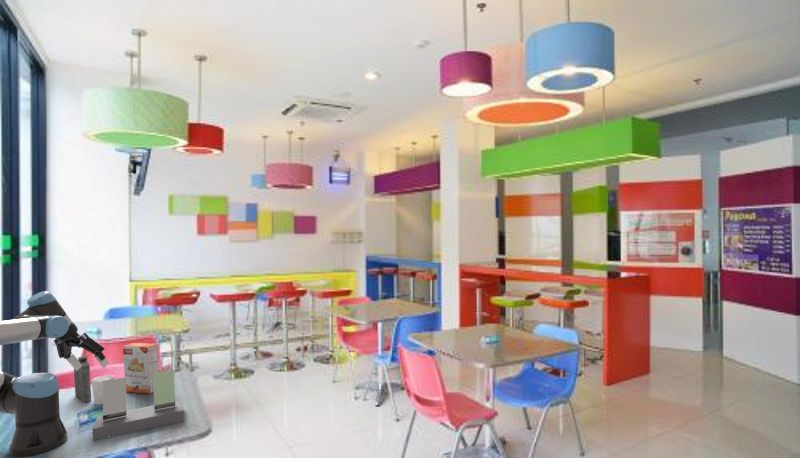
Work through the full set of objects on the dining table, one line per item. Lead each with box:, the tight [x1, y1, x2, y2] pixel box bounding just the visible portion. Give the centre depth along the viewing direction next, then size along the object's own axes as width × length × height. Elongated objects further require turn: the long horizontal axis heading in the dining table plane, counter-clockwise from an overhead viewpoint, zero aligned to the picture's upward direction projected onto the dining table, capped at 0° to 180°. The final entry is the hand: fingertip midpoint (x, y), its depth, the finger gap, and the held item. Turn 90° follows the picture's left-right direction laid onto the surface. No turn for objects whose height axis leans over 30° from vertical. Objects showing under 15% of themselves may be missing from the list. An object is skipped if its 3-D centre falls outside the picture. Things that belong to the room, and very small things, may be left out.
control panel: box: [91, 399, 185, 441], centre depth 165 cm, size 12×28×4 cm, turn 117°
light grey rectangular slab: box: [102, 376, 127, 420], centre depth 163 cm, size 2×7×13 cm, turn 116°
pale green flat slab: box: [153, 369, 176, 410], centre depth 171 cm, size 2×7×13 cm, turn 116°
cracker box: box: [122, 342, 160, 395], centre depth 200 cm, size 14×6×21 cm, turn 73°
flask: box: [73, 355, 92, 404], centre depth 195 cm, size 4×14×18 cm, turn 49°
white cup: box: [91, 374, 115, 406], centre depth 189 cm, size 8×8×10 cm
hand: (92, 366), depth 182 cm, fingers open, 13 cm apart
